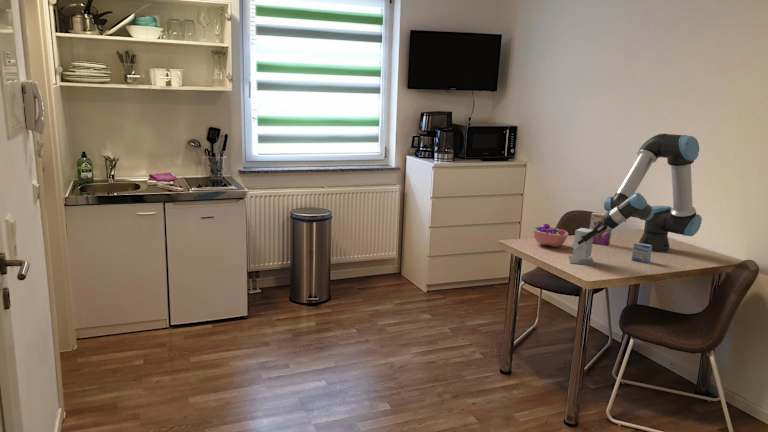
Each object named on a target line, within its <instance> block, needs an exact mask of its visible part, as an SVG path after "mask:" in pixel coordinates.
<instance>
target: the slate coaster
mask: <svg viewBox="0 0 768 432" xmlns="http://www.w3.org/2000/svg"><path fill="white" fill-rule="evenodd" d="M568 259H569V260H568V261H569V263H570V264H571V265H573V264H574V265H583V266H592V267H595V266H596V264H595V262H594V259H593V258H592V257H591V256H589V257H587V258H585V259H584V258H579V257H574V256H573V255H568Z"/></svg>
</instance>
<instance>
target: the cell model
mask: <svg viewBox="0 0 768 432" xmlns="http://www.w3.org/2000/svg"><path fill="white" fill-rule="evenodd" d="M532 233H533V238H534V239H535V241H536V242H537V243H538V244H540V245H543V246H546V245H547V247H551V248H557V247H560V246H562V245H564V244H565V243H566V240H567V238H568V237H569V232H568V231H566V230H564V229H563V228H562V229H561V228H556V227H551V225H550V224H548V223H543V224H541V226H537V227H533V228H532Z"/></svg>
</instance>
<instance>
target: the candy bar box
mask: <svg viewBox="0 0 768 432" xmlns="http://www.w3.org/2000/svg"><path fill="white" fill-rule="evenodd" d="M605 214H606V213H600V212H593V211H592V213H590V219H589V227H588V229H592V230H594V228H595V227H596V226H598V224H599V223H601V222H603V223H604V220H603V216H604V215H605ZM612 232H613V229H611V228H610V227H609V226H607V229H606V230H604V231H602V232H601V233H599V234H596V235H595V236H593V237H594V238H593V242H592V244H597V245H602V246H608V247H609V245H610V244H611V239H612Z"/></svg>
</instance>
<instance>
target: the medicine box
mask: <svg viewBox="0 0 768 432" xmlns="http://www.w3.org/2000/svg"><path fill="white" fill-rule="evenodd" d="M652 246H653V245H648V244H643V243H639V242H637V241H636V242H634V243H633V246H632V253H631V261H633V262H638V263H639V262H640V263H643V264H649V263H650V262H651V258H652V252H653V251H652Z"/></svg>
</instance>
